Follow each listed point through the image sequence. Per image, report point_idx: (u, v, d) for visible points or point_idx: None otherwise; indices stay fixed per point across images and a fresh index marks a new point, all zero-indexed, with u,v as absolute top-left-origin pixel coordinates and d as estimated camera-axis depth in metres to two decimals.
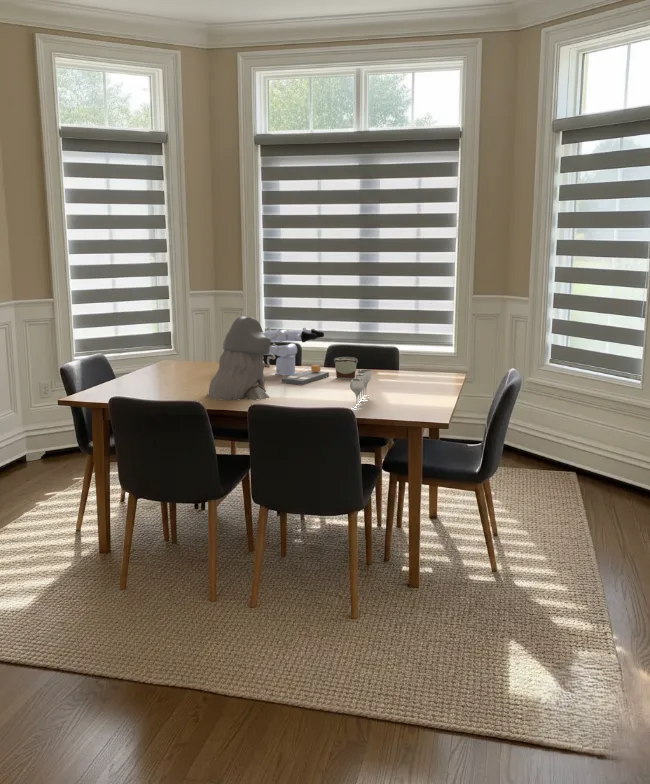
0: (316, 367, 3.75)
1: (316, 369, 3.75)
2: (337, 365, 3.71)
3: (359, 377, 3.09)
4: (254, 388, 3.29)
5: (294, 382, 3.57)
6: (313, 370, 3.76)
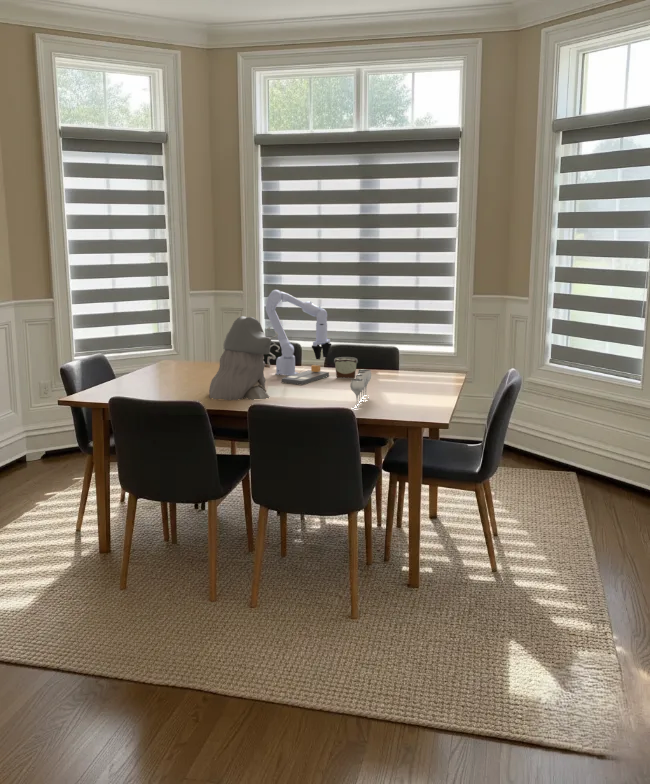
0: (316, 367, 3.75)
1: (316, 369, 3.75)
2: (337, 365, 3.71)
3: (359, 377, 3.09)
4: (254, 388, 3.29)
5: (294, 382, 3.57)
6: (313, 370, 3.76)
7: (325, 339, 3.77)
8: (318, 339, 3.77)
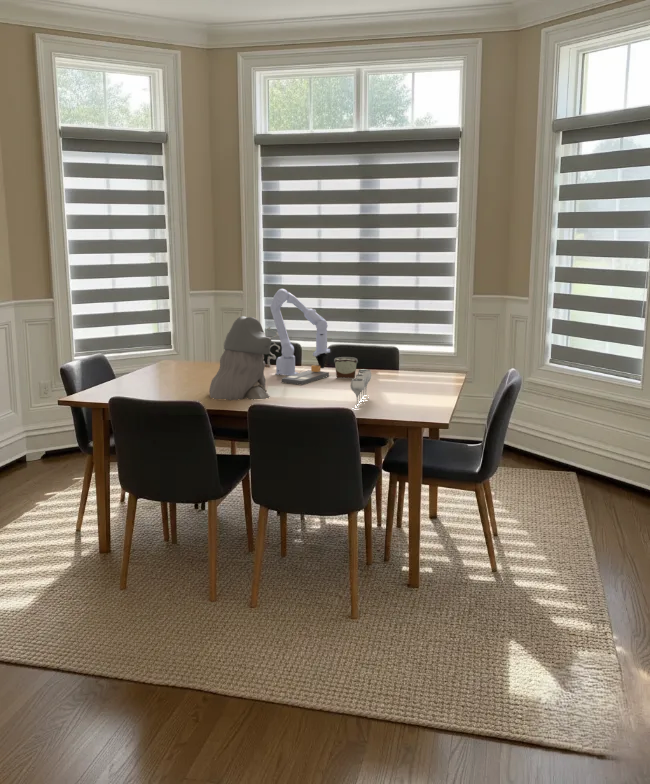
0: (316, 367, 3.75)
1: (316, 369, 3.75)
2: (337, 365, 3.71)
3: (359, 377, 3.09)
4: (255, 388, 3.29)
5: (294, 382, 3.57)
6: (313, 370, 3.76)
7: (325, 349, 3.78)
8: (318, 349, 3.78)
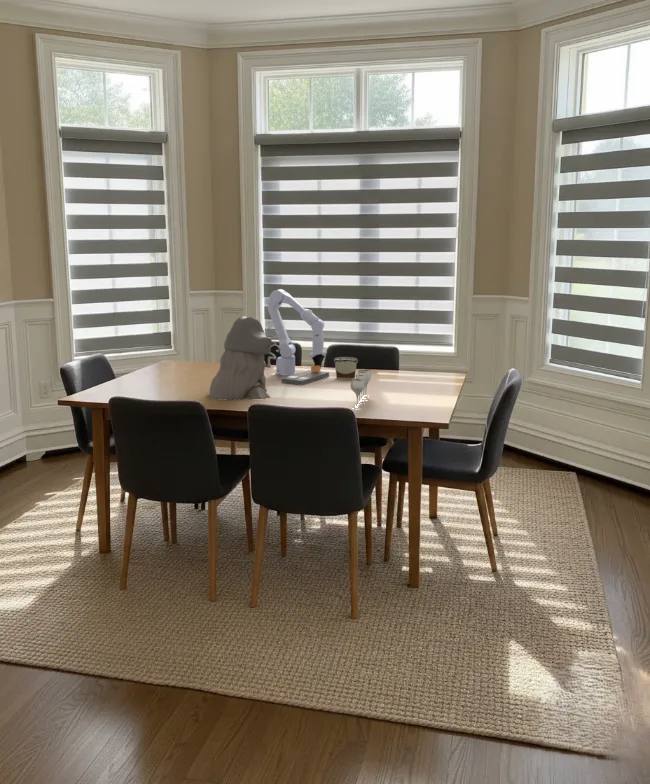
0: (316, 367, 3.75)
1: (316, 369, 3.75)
2: (337, 365, 3.71)
3: (359, 377, 3.10)
4: (255, 388, 3.29)
5: (294, 382, 3.57)
6: (313, 370, 3.76)
7: (321, 350, 3.75)
8: (314, 350, 3.75)
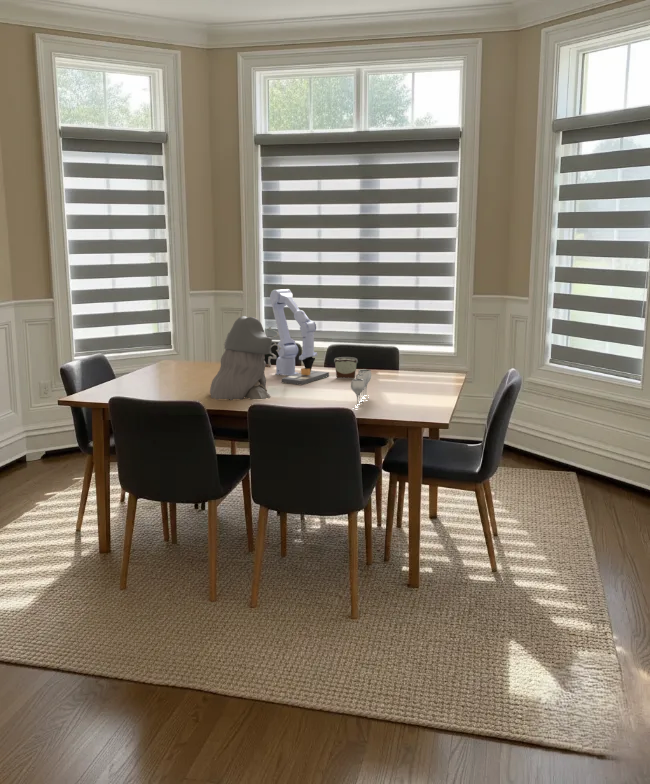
0: (306, 370, 3.67)
1: (306, 372, 3.67)
2: (337, 365, 3.71)
3: (360, 377, 3.10)
4: (255, 388, 3.29)
5: (294, 382, 3.57)
6: (303, 373, 3.68)
7: (312, 353, 3.67)
8: (304, 353, 3.66)
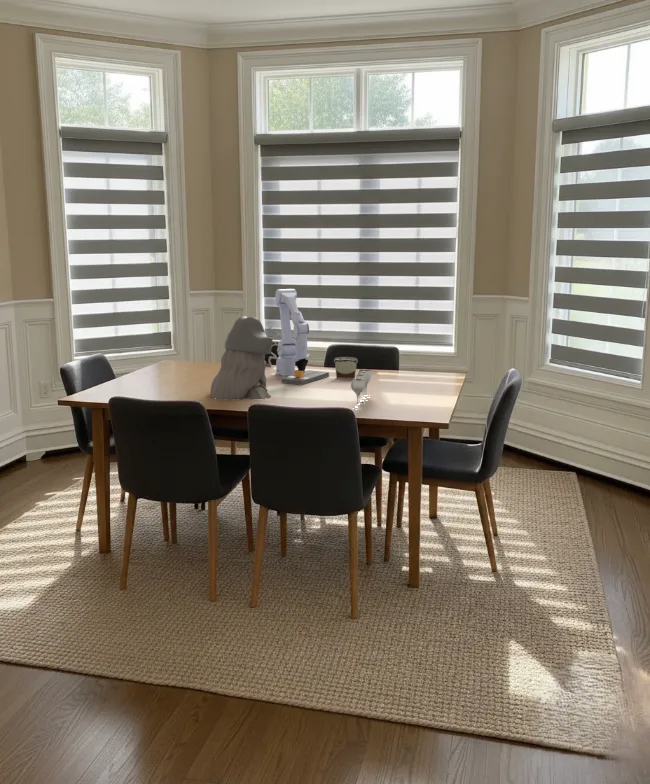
0: (299, 372, 3.61)
1: (299, 374, 3.62)
2: (337, 365, 3.71)
3: (360, 377, 3.10)
4: (256, 388, 3.29)
5: (294, 382, 3.57)
6: (296, 375, 3.63)
7: (305, 354, 3.61)
8: (298, 354, 3.61)
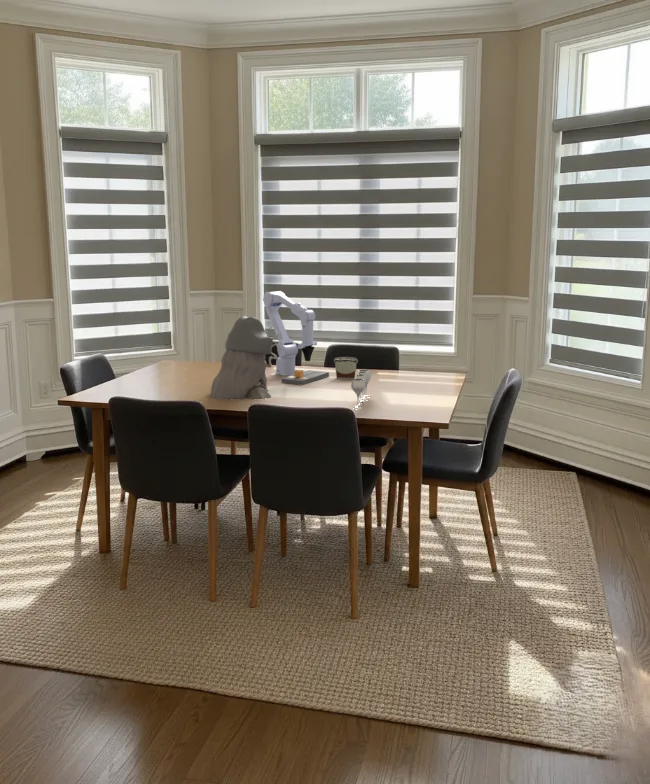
0: (299, 372, 3.61)
1: (299, 374, 3.61)
2: (337, 365, 3.71)
3: (360, 377, 3.10)
4: (256, 388, 3.30)
5: (294, 382, 3.57)
6: (296, 375, 3.63)
7: (311, 341, 3.68)
8: (304, 341, 3.67)
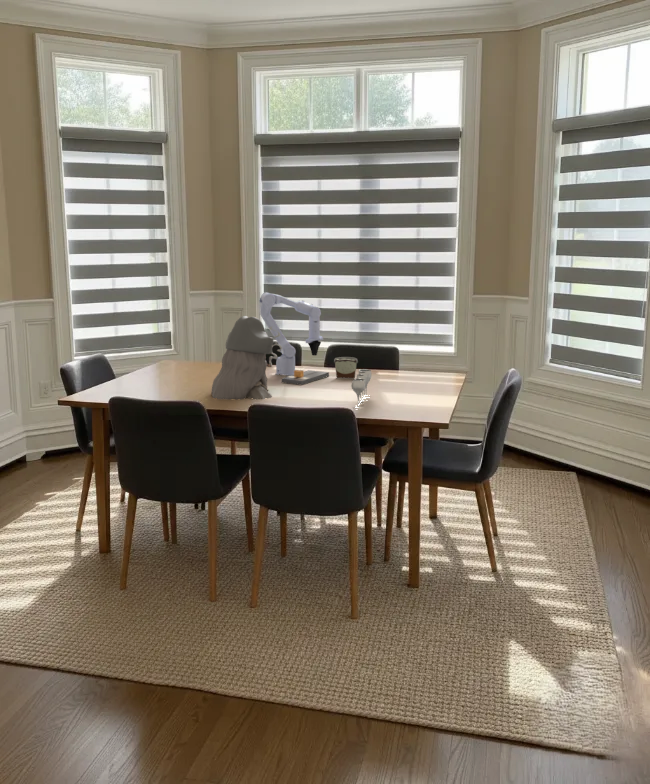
0: (299, 372, 3.61)
1: (299, 374, 3.61)
2: (337, 365, 3.71)
3: (360, 377, 3.10)
4: (257, 387, 3.30)
5: (294, 382, 3.57)
6: (296, 375, 3.63)
7: (318, 336, 3.80)
8: (311, 336, 3.80)
